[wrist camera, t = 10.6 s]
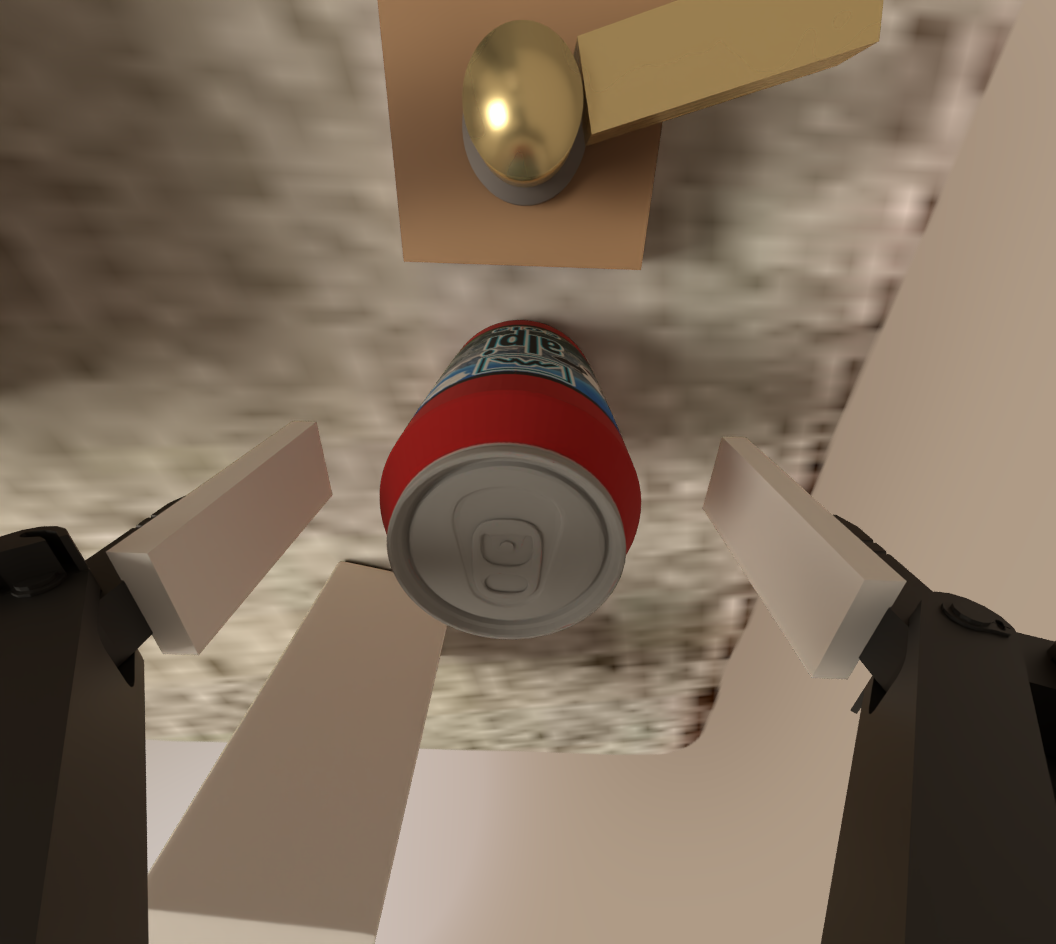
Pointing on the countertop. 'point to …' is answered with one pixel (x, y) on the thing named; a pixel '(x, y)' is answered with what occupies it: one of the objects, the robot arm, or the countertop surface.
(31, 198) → the countertop surface
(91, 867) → the robot arm
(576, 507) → the beverage can
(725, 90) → the lever
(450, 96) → the pedestal
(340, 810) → the milk carton
